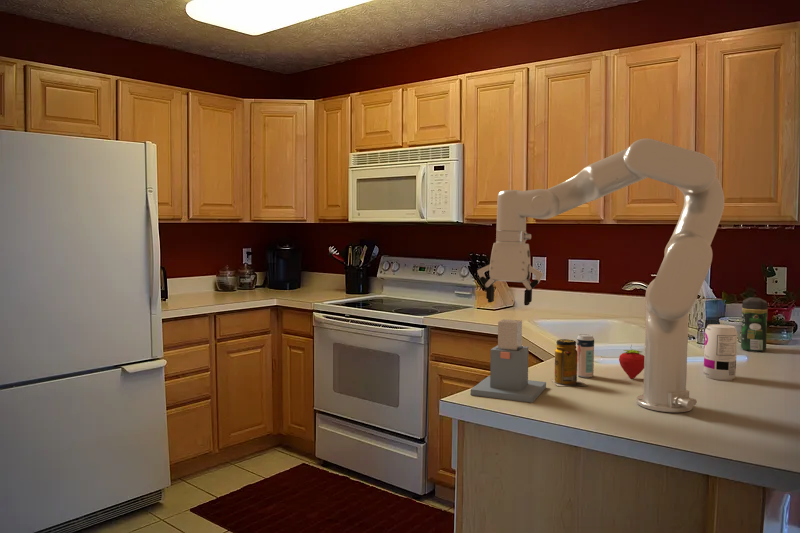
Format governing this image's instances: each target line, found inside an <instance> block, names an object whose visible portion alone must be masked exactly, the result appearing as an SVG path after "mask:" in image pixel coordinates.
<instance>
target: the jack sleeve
mask: <svg viewBox="0 0 800 533" xmlns="http://www.w3.org/2000/svg"><path fill="white" fill-rule="evenodd" d="M489 364H490V367H489V368H490V375H488V376H487V377H485V378H484V379H482V380H481V381H480V382H478V383H477V384H476V385H474V386H473V387H472V388H470V396H477V397H483V398H491V399H492V398H493V399H499V400H500V399H501V400H508V401H514V402H515V401H517V402H523V403H530V404H531V403H534V402H535V400H536V399H537V398H538V397H539V396H540V395H541V394H542V393H543V392H544V391H545V390H546V388H547V381H543V380H542V381H540V380H532V379H529V346H524V345H523V346H522V349H521V350H519V351H511V350H499V349H498V344H497V345H496V346H494V347H492V348H491V349H490V362H489Z"/></svg>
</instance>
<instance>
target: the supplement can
mask: <svg viewBox="0 0 800 533" xmlns="http://www.w3.org/2000/svg"><path fill="white" fill-rule="evenodd" d="M737 347H738V331H737V329H736V327H735V326H734V325H728V324H722V323H721V324H720V323H719V324H716V323H711V324H707V326H706V328H705V330H704V351H703V352H704V353H703V375H704V376H705V377H706V378H708V379H710V380H715V381H732V380H734V379H735V378H736V373H737V371H736V370H737V351H738V350H737Z"/></svg>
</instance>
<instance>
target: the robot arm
mask: <svg viewBox="0 0 800 533" xmlns="http://www.w3.org/2000/svg"><path fill="white" fill-rule="evenodd" d="M717 169H718V168H717V165H716V163H715V161H714V160H713V159H712V158H711V157H710V156H708V155H706V154H704V153H702V152H699V151H695V150H692V149H688V148H684V147H681V146H678V145H674V144H670V143H667V142H663V141H660V140H656V139H654V138H653V139H652V138H641V139H637V140H635V141H634V142H632V143H631V144H630V145H629V146H628V147H627V148H625V149H622V150H620V151H618V152H615V153H614V154H612V155H611V154H610V156H607V157H605V158H602V159H600V160H597V161H595V162H593V163H590V164H589V165H587V166H585V167H584V168H582V169H581V170H580V171H579V172H578V173H577V174H575V175H574V176H572V177H570V178H569V179H566V180H565V181H563V182H560V183H558V184H556V185H554V186H551V187H549V188H546V189H543V188H537V189H529V190H520V189H506V190H505V189H503V190H501V191H499V192H498V194H497V203H496V204H497V206H496V228H495V230H496V234H495V235H496V236H495V237H496V238H495V242H493V245H492V249H491V254H490V260H489V264H487V265H485V266H483V267H481V268H479V269H477V270H476V271H477V275H478V276H479V279H480V281H481V282H482V283H483V285H484V286H485V288H486V293H485V294H486V295H485V297H486V299H487V303H488V304H489V303H493V302H494V301H495V287H494V284H495V283H496V282H511V283H522V284H523V286H524V287H525V289H524V295H523V296H524V300H523V301H524V302H523V305H524V306H529V305H530V303H531V302H532V300H533V298H532V297H533V290H534V288H535V287H536V286H538V285H539V284H540V282H541V280H542V278H543V276H544V273H543V272H542V271H541V270H538V269H536V268H535V267H533V266H532V265H531V251H530V244H529V243H526V242H527V240H531V239H532V234H531V233H528V232H527V218H530V219H536V220H548V219H552V218H554V217H556V216H559V215H561V214H564V213H566V212H568V211H570V210H573V209H575V208H578V207H581V206H582V205H584V204H587V203H591V202H593V201H597V200H598V199H601V198H603V197H605V196H608V195H609V194H612V193H615V192H617V191H619V190H622V189H624V188H626V187H628V186H631V185H633V184H636V183H639V182H640V181H643V180H646V179H648V178H649V179H651V180H655V181H657V182H661V183H664V184H668V185H671V186H674V187H676V188H677V189H678V190H679V191H680V192H681V193H682V195H683V200H684V201H683V207H682V210H681V212H680V215H679V218H678V221H677V223H676V225H675V227H674V230H673V232H672V235H671V236H670V238H669V241H668V242H667V244H666V246H665V248H664V257H663V260H662V262H661V264H660V266H659V269H658V271H657V273H656V276H655V278H654V279H652V281H651V282H649V284H648V286H647V288H646V290H645V300H644V302H645V305H644V306H645V316H644V317H645V319H644V320H645V329H644V330H645V331H644V369H643V392H642V393H643V394H640V395H638V396H637V397H636V404H637V405H638V406H640V407H642V408H644V409H647V410H651V411H656V412H657V411H658V412H663V413H685V412H689V411H691V410H693V408H694V406H695V405H697V403H698V401H697V399H696V398H692V397H690V390H687V374H688V373H687V372H688V371H687V370H688V368H687V367H688V346H689V345H688V344H689V312H690V311H691V310H692V308H693V306H694V304H695V302H696V300H697V297H698V295H699V293H700V290H701V289H702V286H703V284H704V282H705V280H706V277H707V275H708V272H709V270H710V268H711V265H712V262H713V249H712V246H711V245H712V242H713V240H714V237H715V235H716V233H717V230H718V228H719V224H720V222H721V219H722V216H723V214H724V211H725V210H724V208H725V194H724V191H723V190H724V189H723V187H722V184H721V182H720V180H719V178H718V177H717V171H718V170H717ZM488 271H489V272H488ZM485 272H488V274H489V279H488V277H487V276H486V275H485ZM531 273H532V274H533V275H534V276H535V278H534V280H533V281H532V282H531V281H530V279H531V276H532V275H531Z"/></svg>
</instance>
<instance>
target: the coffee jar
mask: <svg viewBox="0 0 800 533" xmlns="http://www.w3.org/2000/svg"><path fill="white" fill-rule="evenodd" d="M740 327H741V328H740V330H741V331H740V332H741V333H740V334H741V335H740V347H741V349H742V350H744V351H749V352H753V353H757V352H765V351H766V350H767V336H768V335H767V331H768V302H767V301H766V300H765V299H762V298H761V297H750V296H749V297H747V298H746V299H743V300H742V305H741V325H740Z"/></svg>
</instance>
